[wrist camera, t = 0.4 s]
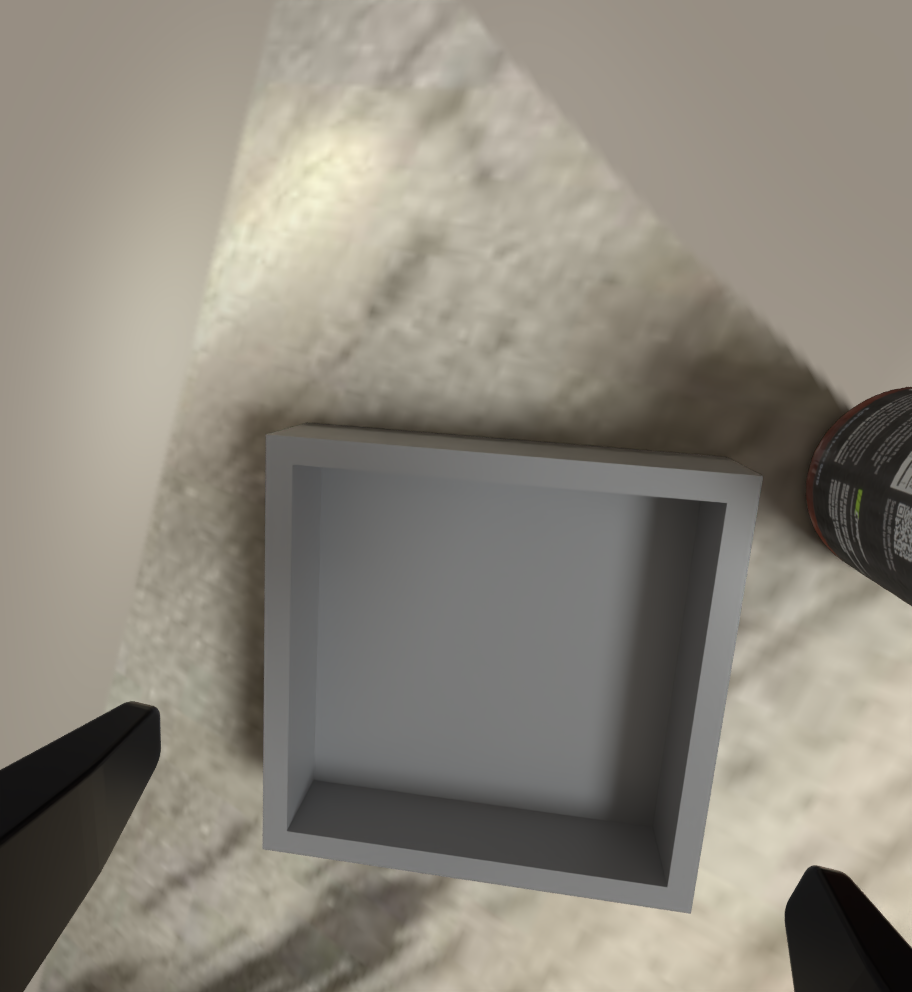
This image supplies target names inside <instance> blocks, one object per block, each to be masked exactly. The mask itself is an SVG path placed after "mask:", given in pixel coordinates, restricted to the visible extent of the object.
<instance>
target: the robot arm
mask: <svg viewBox="0 0 912 992" xmlns="http://www.w3.org/2000/svg"><path fill="white" fill-rule="evenodd" d="M160 752H161V735H160V713H159V710H158V709H157V708H156V707H154V706H151V705H147V704H143V703H139V702H134V701H130V702H126V703H124V704H122V705H120V706H118V707H116V708H114V709H112V710H111V711H109V712H107V713H105V714H103V715H101V716H99V717H98V718H96V719H94V720H92V721H90V722H88V723H86V724H85V725H83V726H81V727H79V728H77V729H75V730H74V731H72V732H70V733H68V734H66V735H64V736H62V737H61V738H59V739H57V740H55V741H53V742H51V743H49V744H48V745H46V746H44V747H42V748H40V749H38V750H36V751H35V752H33V753H31V754H29V755H27V756H25V757H23V758H22V759H20V760H18V761H16V762H14V763H12V764H11V765H9V766H7V767H5V768H3V769H1V770H0V992H23V991H24V990H25V988H26V987H27V985H28V984H29V982H30V981H31V979H32V978H33V976H34V974H35V973H36V971H37V970H38V968H39V967H40V965H41V964H42V962H43V961H44V959H45V958H46V956H47V955H48V953H49V952H50V950H51V949H52V947H53V945H54V944H55V942H56V941H57V939H58V938H59V936H60V935H61V933H62V932H63V930H64V929H65V927H66V926H67V924H68V923H69V921H70V919H71V918H72V916H73V915H74V913H75V912H76V910H77V909H78V907H79V906H80V904H81V903H82V901H83V900H84V898H85V896H86V895H87V893H88V892H89V890H90V889H91V887H92V885H93V884H94V882H95V881H96V879H97V877H98V876H99V874H100V872H101V871H102V869H103V867H104V865H105V863H106V862H107V860H108V858H109V856H110V854H111V852H112V850H113V848H114V847H115V845H116V843H117V841H118V839H119V837H120V835H121V833H122V831H123V829H124V827H125V825H126V824H127V822H128V820H129V818H130V816H131V814H132V812H133V810H134V808H135V806H136V804H137V802H138V801H139V799H140V797H141V795H142V793H143V791H144V789H145V787H146V785H147V783H148V781H149V779H150V778H151V776H152V774H153V772H154V770H155V768H156V766H157V763H158V761H159V757H160ZM785 927H786V934H787V942H788V949H789V956H790V963H791V971H792V978H793V985H794V992H912V947H911V946H910V945H909V944H908V943H907V942H906V941H905V939H904V938H903V937H902V936H901V935H900V934H899V933H898V932H897V930H896V929H895V928H894V927H893V926H892V925H891V924H890V922H889V921H888V920H887V919H886V918H885V917H884V916H883V915H882V913H881V912H880V911H879V910H878V909H877V908H876V907H875V905H874V904H873V903H872V902H871V901H870V900H869V899H868V898H867V896H866V895H865V894H864V893H863V892H862V891H861V890H860V888H859V887H858V886H857V885H856V884H855V883H854V882H853V881H852V879H851V878H850V877H848V876H847V875H846V874H845V873H843V872H841V871H838V870H834V869H830V868H825V867H821V866H817V865H813V866H811V867H809V868H808V869H807V870H806V871H805V873H804V875H803V876H802V878H801V880H800V881H799V883H798V885H797V887H796V888H795V890H794V892H793V893H792V895H791V897H790V898H789V900H788V902H787V905H786V909H785Z"/></svg>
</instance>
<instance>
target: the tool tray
mask: <svg viewBox="0 0 912 992" xmlns="http://www.w3.org/2000/svg"><path fill="white" fill-rule="evenodd" d="M762 480H763V476H762V475H760V474H758V473H756V472H754V471H753V470H751V469H749V468H747V467H745V466H743V465H741V464H740V463H738V462H736V461H734V460H732V459H730V458H728V457H722V456H710V455H698V454H685V453H673V452H661V451H649V450H636V449H624V448H612V447H600V446H587V445H575V444H563V443H551V442H538V441H526V440H514V439H502V438H489V437H477V436H465V435H453V434H440V433H428V432H416V431H404V430H391V429H379V428H367V427H354V426H342V425H330V424H318V423H304V424H301V425H297V426H294V427H290V428H287V429H283V430H280V431H276V432H273V433H269V434H266V481H265V613H264V745H263V849H265V850H272V851H279V852H285V853H292V854H298V855H305V856H312V857H318V858H325V859H332V860H338V861H345V862H352V863H358V864H365V865H371V866H378V867H385V868H391V869H398V870H405V871H411V872H418V873H425V874H431V875H438V876H444V877H451V878H458V879H464V880H471V881H478V882H484V883H491V884H498V885H504V886H511V887H517V888H524V889H531V890H537V891H544V892H551V893H557V894H564V895H570V896H577V897H584V898H590V899H597V900H604V901H610V902H617V903H624V904H630V905H637V906H643V907H650V908H657V909H663V910H670V911H677V912H683V913H690V914H691V909H692V903H693V897H694V891H695V885H696V879H697V873H698V867H699V861H700V855H701V849H702V843H703V837H704V831H705V825H706V819H707V813H708V807H709V801H710V795H711V789H712V783H713V777H714V770H715V764H716V758H717V752H718V746H719V740H720V734H721V728H722V722H723V716H724V710H725V704H726V698H727V692H728V686H729V680H730V674H731V668H732V662H733V656H734V650H735V644H736V638H737V632H738V625H739V619H740V613H741V607H742V601H743V595H744V589H745V583H746V577H747V571H748V565H749V559H750V553H751V547H752V541H753V535H754V529H755V523H756V517H757V511H758V505H759V499H760V493H761V487H762Z"/></svg>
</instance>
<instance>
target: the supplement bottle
mask: <svg viewBox="0 0 912 992" xmlns="http://www.w3.org/2000/svg"><path fill="white" fill-rule="evenodd" d="M806 499H807V506H808V511H809V515H810V518H811V520H812V524H813V526H814V528H815V530H816V532H817V534H818V535H819V537H820V538H821V540H822V541H823V542H824V543H825V545H826V546H827V547H828V548H829V549H830V550H831V551H832V552H833V553H834V554H835V555H836V556H838V557H839V558H840V559H841V560H842V561H844V562H845V563H847V564H848V565H850V566H851V567H853V568H854V569H856V570H857V571H859V572H860V573H862V574H863V575H864V576H866V577H868V578H869V579H871V580H872V581H874V582H876V583H877V584H879V585H880V586H881V587H883V588H884V589H886V590H888V591H889V592H891V593H893V594H894V595H896V596H897V597H899V598H900V599H902V600H903V601H905V602H906V603H908V604H909V605H911V606H912V387H905V388H901V389H894V390H890V391H888V392H883V393H881V394H879V395H875V396H874V397H871V398H869V399H867V400H865V401H863V402H862V403H860V404H858V405H857V406H855V407H854V408H852V409H851V410H849V411H848V412H847V413H846V414H844V415H843V416H842V417H841V418H839V419H838V420H837V421H836V423H835V424H834V425H833V426H832V427H831V428H830V429H829V430H828V431H827V433H826V434H825V435H824V437H823V438H822V440H821V441H820V443H819V444H818V446H817V448H816V450H815V452H814V454H813V457H812V461H811V464H810V467H809V470H808V475H807V480H806Z"/></svg>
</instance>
